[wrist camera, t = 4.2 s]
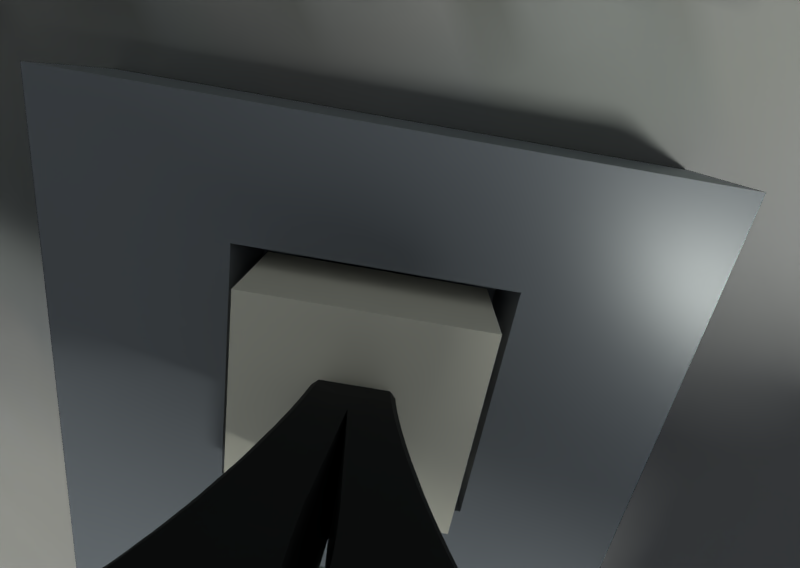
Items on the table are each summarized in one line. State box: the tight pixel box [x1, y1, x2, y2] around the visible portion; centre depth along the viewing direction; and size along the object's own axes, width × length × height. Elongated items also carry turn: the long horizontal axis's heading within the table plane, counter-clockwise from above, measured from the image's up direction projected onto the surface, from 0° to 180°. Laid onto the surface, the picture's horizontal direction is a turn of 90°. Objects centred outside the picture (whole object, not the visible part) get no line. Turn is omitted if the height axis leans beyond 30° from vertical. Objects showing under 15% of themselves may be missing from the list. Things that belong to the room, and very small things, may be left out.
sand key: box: [224, 251, 502, 534], centre depth 10 cm, size 4×4×2 cm
